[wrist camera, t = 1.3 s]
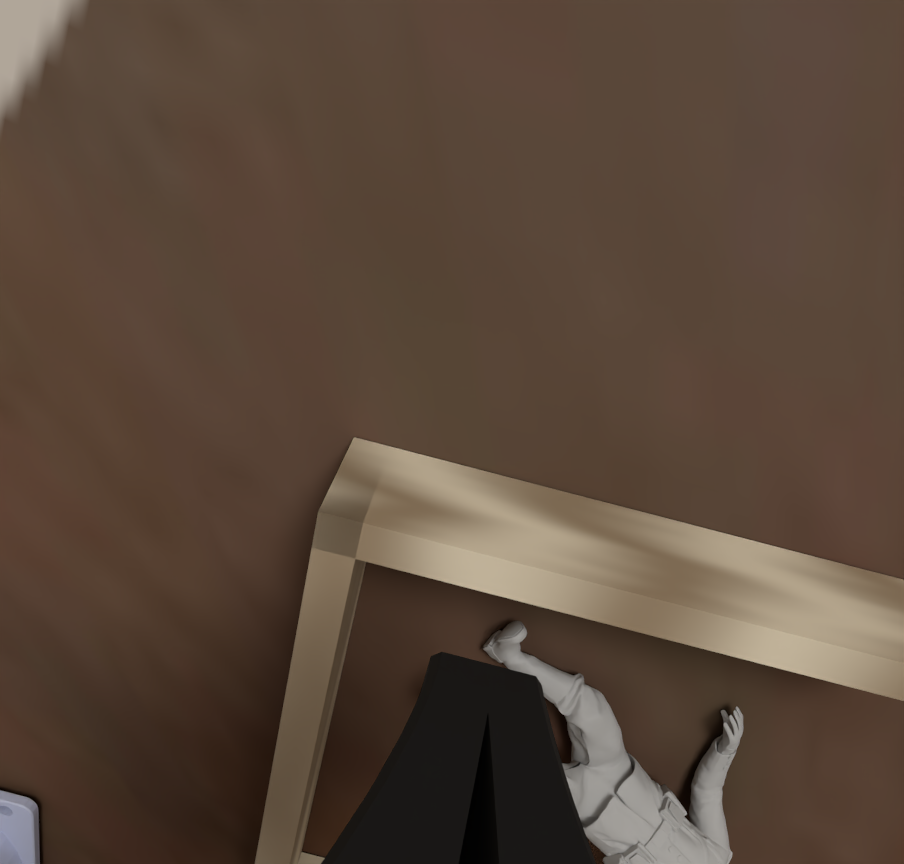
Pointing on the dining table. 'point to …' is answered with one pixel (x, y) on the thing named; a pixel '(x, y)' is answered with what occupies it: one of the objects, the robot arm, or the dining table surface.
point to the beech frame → (559, 592)
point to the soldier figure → (628, 774)
